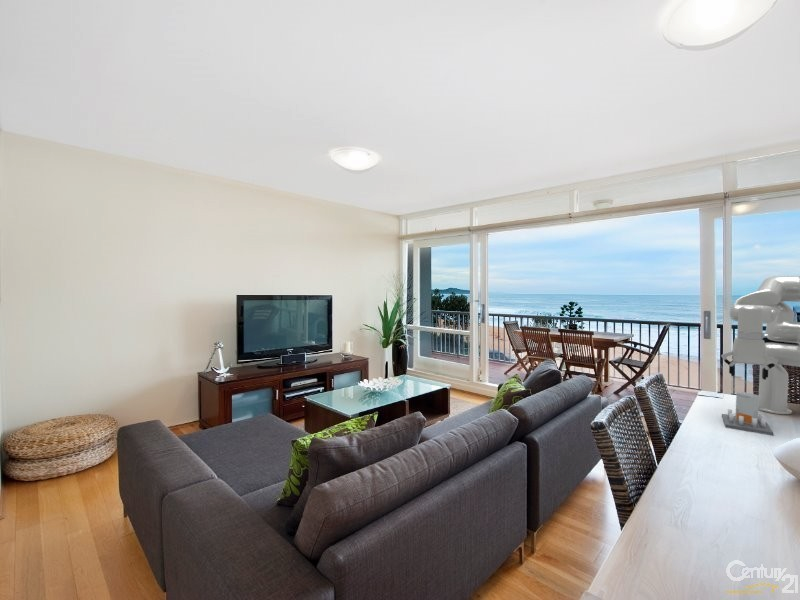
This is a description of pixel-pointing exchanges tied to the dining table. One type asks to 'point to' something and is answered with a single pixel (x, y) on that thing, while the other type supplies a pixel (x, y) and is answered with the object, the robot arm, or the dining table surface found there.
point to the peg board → (758, 428)
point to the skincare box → (747, 407)
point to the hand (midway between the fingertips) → (747, 377)
